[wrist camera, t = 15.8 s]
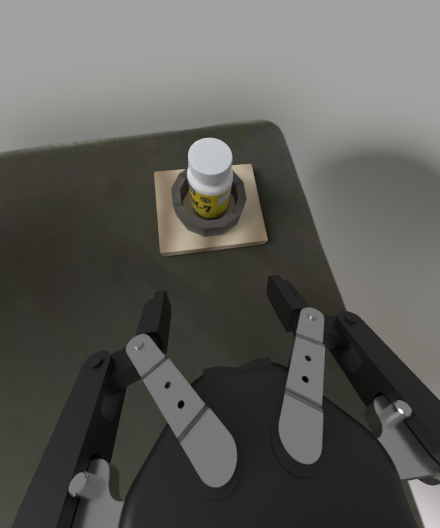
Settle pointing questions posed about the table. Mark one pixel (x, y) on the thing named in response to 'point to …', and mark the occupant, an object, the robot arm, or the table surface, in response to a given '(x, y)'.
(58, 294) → the table surface
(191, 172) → the supplement bottle
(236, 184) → the jig
